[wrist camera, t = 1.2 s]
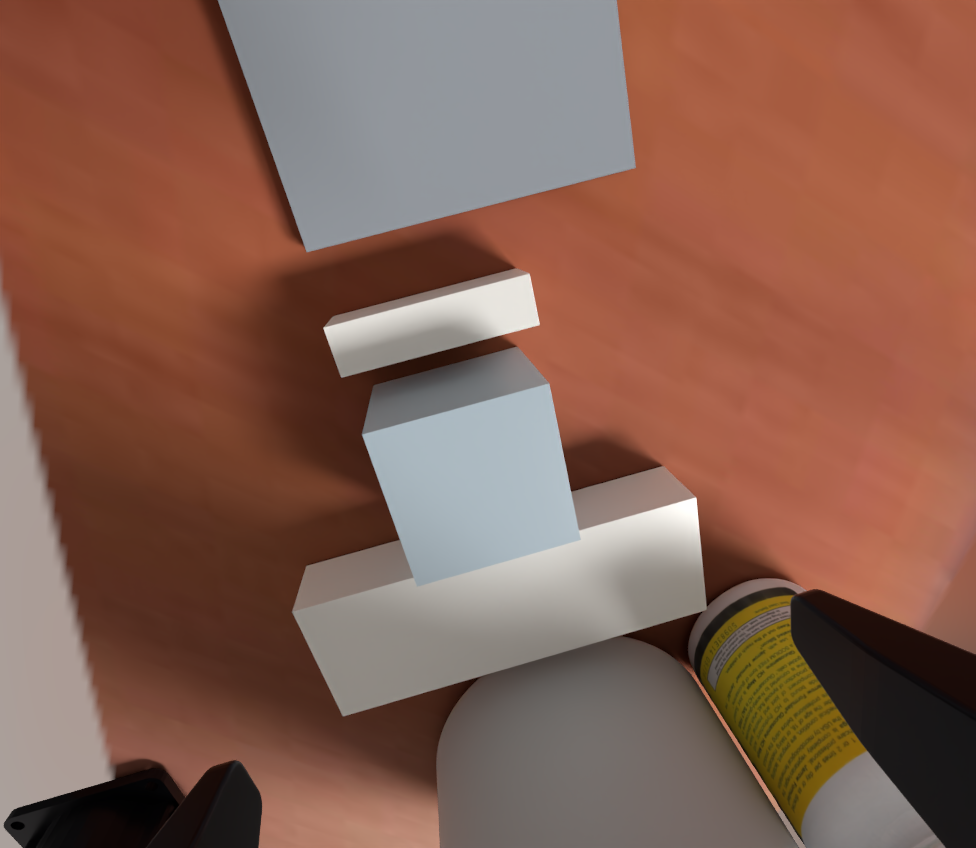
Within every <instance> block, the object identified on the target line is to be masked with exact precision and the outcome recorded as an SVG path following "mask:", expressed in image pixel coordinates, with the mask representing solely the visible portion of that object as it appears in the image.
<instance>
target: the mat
mask: <svg viewBox="0 0 976 848" xmlns="http://www.w3.org/2000/svg"><path fill="white" fill-rule="evenodd" d="M218 2H219V5H220V8H221V11H222V14H223V16H224V19H225V22H226V25H227V28H228V31H229V33H230V36H231V39H232V42H233V45H234V48H235V50H236V53H237V56H238V59H239V62H240V65H241V67H242V70H243V73H244V76H245V79H246V82H247V84H248V87H249V90H250V93H251V96H252V99H253V101H254V104H255V107H256V110H257V113H258V116H259V118H260V121H261V124H262V127H263V130H264V133H265V135H266V138H267V141H268V144H269V147H270V150H271V152H272V155H273V158H274V161H275V164H276V167H277V169H278V172H279V175H280V178H281V181H282V184H283V186H284V189H285V192H286V195H287V198H288V201H289V203H290V206H291V209H292V212H293V215H294V218H295V220H296V223H297V226H298V229H299V232H300V235H301V237H302V240H303V243H304V246H305V249H306V252H310V251H313V250H317V249H321V248H325V247H329V246H333V245H337V244H341V243H345V242H349V241H352V240H356V239H360V238H364V237H368V236H372V235H376V234H380V233H384V232H388V231H391V230H395V229H399V228H403V227H407V226H411V225H415V224H419V223H423V222H427V221H430V220H434V219H438V218H442V217H446V216H450V215H454V214H458V213H462V212H466V211H469V210H473V209H477V208H481V207H485V206H489V205H493V204H497V203H501V202H505V201H508V200H512V199H516V198H520V197H524V196H528V195H532V194H536V193H540V192H544V191H548V190H551V189H555V188H559V187H563V186H567V185H571V184H575V183H579V182H583V181H587V180H590V179H594V178H598V177H602V176H606V175H610V174H614V173H618V172H622V171H626V170H629V169H633V168H636V166H635V157H634V149H633V140H632V131H631V122H630V114H629V105H628V96H627V88H626V79H625V70H624V61H623V53H622V44H621V35H620V26H619V18H618V9H617V0H218Z"/></svg>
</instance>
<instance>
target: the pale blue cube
mask: <svg viewBox="0 0 976 848" xmlns="http://www.w3.org/2000/svg"><path fill="white" fill-rule="evenodd" d="M362 436H363V439H364V442H365V444H366V447H367V450H368V453H369V455H370V458H371V461H372V464H373V466H374V469H375V472H376V475H377V478H378V480H379V483H380V486H381V489H382V491H383V494H384V497H385V500H386V502H387V505H388V508H389V511H390V513H391V516H392V519H393V522H394V524H395V527H396V530H397V533H398V535H399V538H400V541H401V544H402V547H403V549H404V552H405V555H406V558H407V560H408V563H409V566H410V569H411V571H412V574H413V577H414V580H415V582H416V585H417V587H418V586H421V585H425V584H428V583H432V582H435V581H439V580H442V579H446V578H449V577H453V576H456V575H460V574H463V573H467V572H470V571H474V570H477V569H481V568H484V567H488V566H491V565H495V564H498V563H502V562H505V561H509V560H512V559H516V558H519V557H523V556H526V555H530V554H533V553H537V552H540V551H544V550H547V549H551V548H554V547H558V546H561V545H565V544H568V543H572V542H575V541H579V540H581V539H580V534H579V529H578V524H577V519H576V514H575V509H574V504H573V499H572V494H571V489H570V484H569V479H568V474H567V469H566V464H565V459H564V454H563V449H562V444H561V439H560V434H559V429H558V424H557V419H556V415H555V410H554V405H553V400H552V395H551V390H550V385H549V383H548V381H547V380H546V379H545V378H544V377H543V376H542V374H541V373H540V372H539V371H538V370H537V369H536V367H535V366H534V365H533V364H532V363H531V362H530V360H529V359H528V358H527V357H526V356H525V355H524V354H523V352H522V351H521V350H520V349H519V348H518V347H514V348H510V349H506V350H502V351H499V352H495V353H491V354H488V355H484V356H480V357H476V358H473V359H469V360H465V361H462V362H458V363H454V364H450V365H447V366H443V367H439V368H436V369H432V370H428V371H424V372H421V373H417V374H413V375H410V376H406V377H402V378H398V379H395V380H391V381H387V382H384V383H380V384H376V385H373V389H372V394H371V398H370V402H369V406H368V411H367V415H366V419H365V424H364V428H363V432H362Z"/></svg>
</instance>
